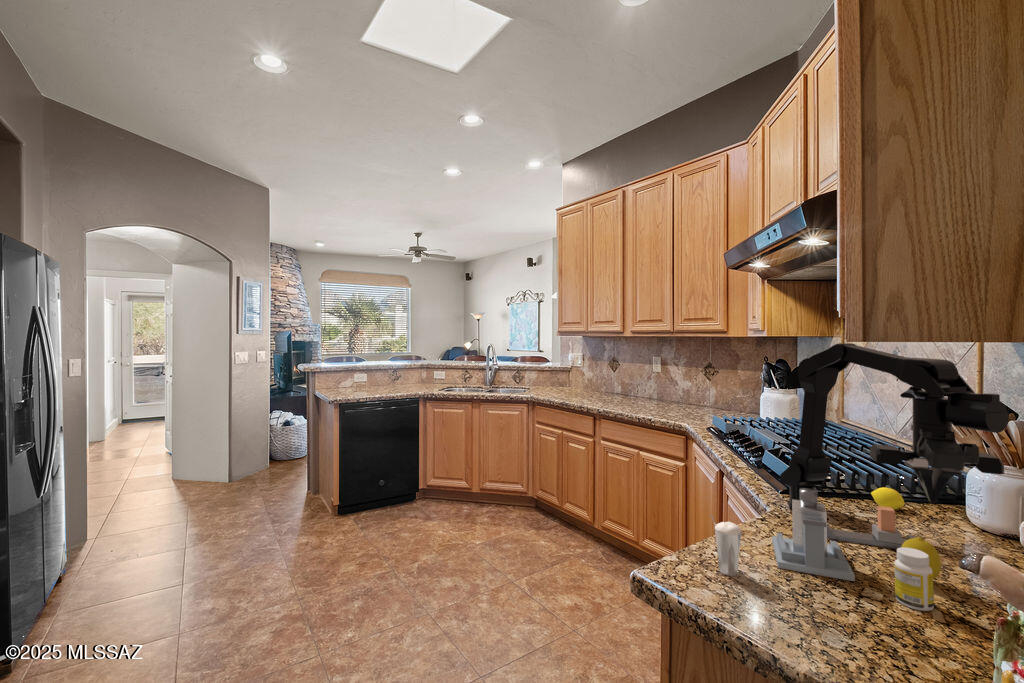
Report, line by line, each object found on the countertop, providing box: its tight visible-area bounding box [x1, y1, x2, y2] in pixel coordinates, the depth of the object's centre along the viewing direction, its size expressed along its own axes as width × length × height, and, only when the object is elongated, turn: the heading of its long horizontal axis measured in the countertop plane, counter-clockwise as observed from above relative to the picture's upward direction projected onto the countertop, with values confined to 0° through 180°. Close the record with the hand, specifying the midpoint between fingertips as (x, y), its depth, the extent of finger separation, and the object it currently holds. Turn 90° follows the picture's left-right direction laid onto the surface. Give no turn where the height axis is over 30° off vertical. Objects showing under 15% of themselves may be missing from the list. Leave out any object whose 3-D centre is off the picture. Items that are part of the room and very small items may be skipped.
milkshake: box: [710, 514, 742, 577], centre depth 86 cm, size 4×5×10 cm
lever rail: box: [827, 523, 916, 550], centre depth 98 cm, size 4×16×2 cm, turn 64°
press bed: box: [771, 515, 856, 582], centre depth 90 cm, size 13×12×10 cm
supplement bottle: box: [893, 547, 935, 612], centre depth 74 cm, size 5×5×8 cm
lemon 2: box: [901, 536, 942, 580], centre depth 81 cm, size 6×6×8 cm
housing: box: [791, 488, 828, 557], centre depth 90 cm, size 6×6×12 cm
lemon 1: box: [870, 486, 905, 511], centre depth 118 cm, size 7×5×5 cm
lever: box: [871, 505, 903, 544], centre depth 96 cm, size 4×4×6 cm
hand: (932, 501), depth 89 cm, fingers closed
